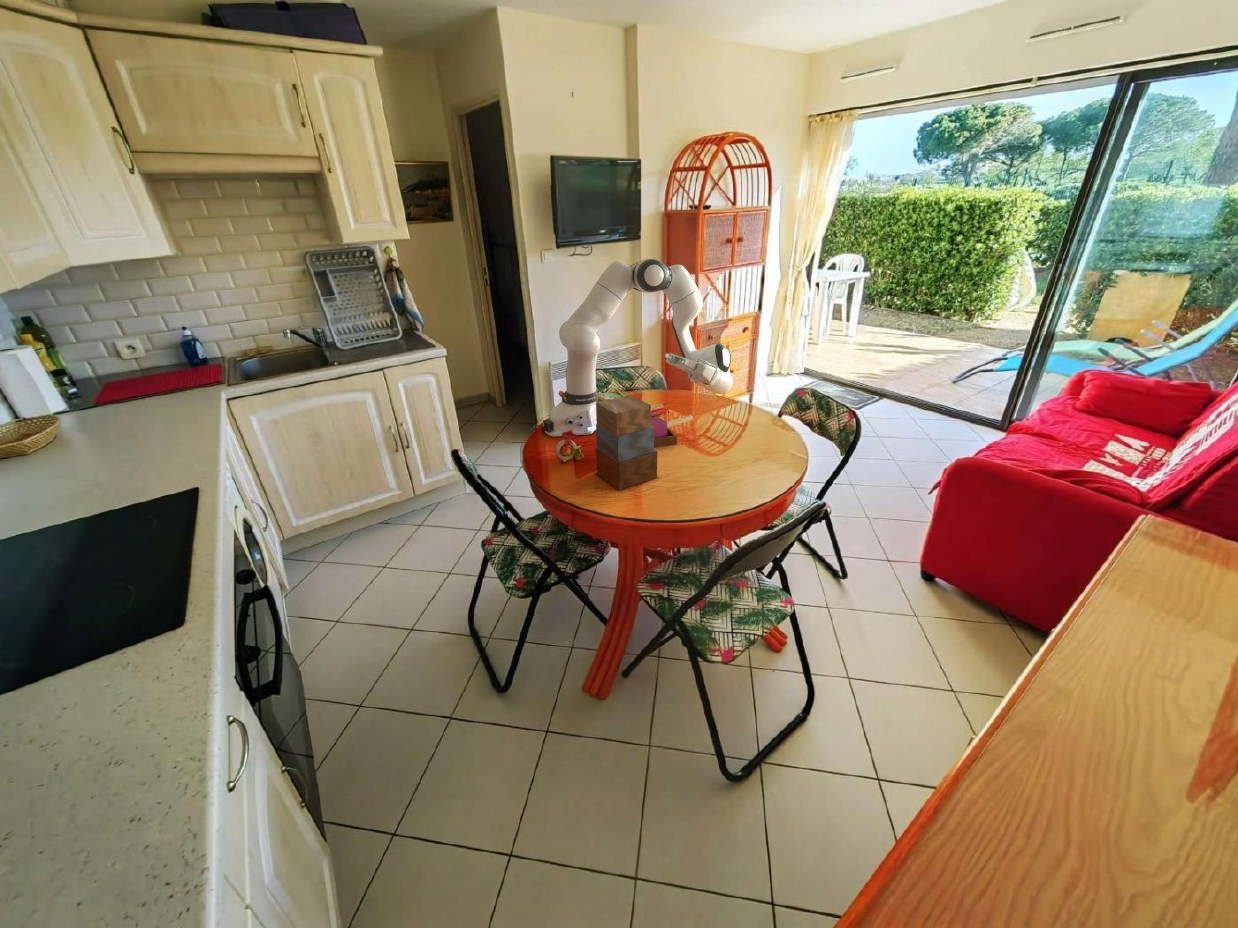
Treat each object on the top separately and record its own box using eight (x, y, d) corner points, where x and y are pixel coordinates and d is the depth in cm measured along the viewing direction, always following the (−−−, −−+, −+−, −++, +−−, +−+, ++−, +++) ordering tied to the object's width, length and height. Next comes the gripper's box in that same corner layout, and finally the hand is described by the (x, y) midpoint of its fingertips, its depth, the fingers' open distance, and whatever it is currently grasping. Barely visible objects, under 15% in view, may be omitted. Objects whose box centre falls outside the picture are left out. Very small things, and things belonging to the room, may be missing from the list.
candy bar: (663, 411, 210) (663, 404, 209) (669, 413, 208) (669, 406, 206) (631, 419, 203) (631, 412, 201) (636, 422, 200) (636, 414, 199)
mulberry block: (685, 422, 194) (685, 407, 191) (696, 428, 188) (696, 413, 185) (640, 436, 185) (640, 420, 183) (651, 442, 180) (650, 427, 177)
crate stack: (633, 462, 168) (632, 392, 157) (657, 477, 158) (658, 404, 147) (596, 473, 161) (593, 401, 150) (619, 490, 151) (618, 414, 141)
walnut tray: (632, 450, 176) (632, 442, 175) (621, 437, 187) (621, 429, 185) (676, 443, 181) (677, 436, 179) (662, 430, 191) (663, 423, 190)
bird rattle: (568, 471, 168) (590, 455, 170) (554, 446, 161) (576, 429, 163) (560, 464, 172) (581, 448, 175) (546, 439, 166) (568, 423, 168)
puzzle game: (611, 407, 202) (593, 392, 218) (612, 418, 204) (594, 403, 220) (638, 402, 206) (619, 388, 222) (638, 413, 208) (619, 399, 225)
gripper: (685, 357, 193) (660, 344, 184) (723, 370, 178) (698, 355, 169) (678, 373, 194) (653, 360, 185) (715, 386, 178) (690, 373, 170)
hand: (675, 358), depth 177 cm, fingers open, 8 cm apart
